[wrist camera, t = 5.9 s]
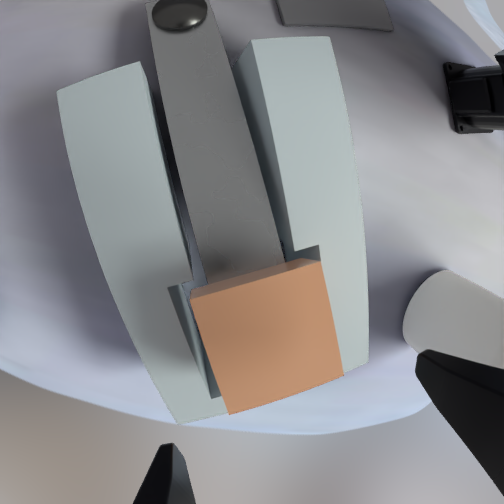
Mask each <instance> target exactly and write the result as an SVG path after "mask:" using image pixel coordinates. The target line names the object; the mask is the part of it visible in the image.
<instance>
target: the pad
mask: <svg viewBox="0 0 504 504" xmlns="http://www.w3.org/2000/svg"><path fill="white" fill-rule="evenodd" d="M276 2H277V6H278V9H279V13H280V16H281V20H282V23H283V26H336V27H353V28H365V29H375V30H384V31H393V30H394V28H393V25H392V22H391V19H390V16H389V13H388V10H387V7H386V4H385V2H384V0H276Z"/></svg>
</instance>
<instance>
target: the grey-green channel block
mask: <svg viewBox="0 0 504 504" xmlns="http://www.w3.org/2000/svg"><path fill="white" fill-rule="evenodd" d="M231 71H232V74H233V77H234V80H235V84H236V87H237V90H238V94H239V97H240V100H241V104H242V107H243V111H244V114H245V117H246V121H247V124H248V128H249V131H250V135H251V138H252V142H253V145H254V149H255V152H256V156H257V159H258V163H259V166H260V170H261V174H262V177H263V181H264V184H265V188H266V192H267V195H268V199H269V203H270V207H271V210H272V214H273V218H274V222H275V225H276V229H277V233H278V237H279V239H280V240H282V241H283V244H284V249H285V255H286V260H287V262H289V261H292V260H295V259H299V258H304V259H310V260H316V261H321V265H322V269H323V274H324V278H325V283H326V287H327V292H328V296H329V301H330V305H331V310H332V315H333V320H334V325H335V330H336V335H337V340H338V345H339V350H340V356H341V361H342V367H343V373H346V372H348V371H350V370H353V369H355V368H357V367H359V366H362V365H364V364H366V363H368V355H369V310H368V280H367V261H366V247H365V234H364V223H363V213H362V204H361V195H360V187H359V180H358V172H357V165H356V159H355V152H354V146H353V140H352V134H351V129H350V123H349V118H348V113H347V108H346V103H345V98H344V94H343V89H342V85H341V80H340V76H339V72H338V68H337V64H336V60H335V56H334V52H333V48H332V44H331V41H330V37H329V36H307V37H281V38H266V39H255V40H251V41H250V42H249V44H248V45H247V47H246V48H245V50H244V51H243V53H242V54H241V56H240V57H239V59H238V60H237V62H236V63H235V65H234V66H233V68H232V70H231ZM56 92H57V99H58V106H59V112H60V118H61V123H62V129H63V134H64V139H65V144H66V149H67V153H68V158H69V162H70V166H71V170H72V174H73V178H74V182H75V186H76V190H77V193H78V197H79V201H80V204H81V207H82V211H83V214H84V217H85V221H86V224H87V227H88V230H89V233H90V236H91V239H92V242H93V245H94V248H95V251H96V254H97V257H98V259H99V262H100V265H101V268H102V270H103V273H104V276H105V278H106V281H107V283H108V286H109V288H110V291H111V293H112V296H113V298H114V301H115V303H116V305H117V308H118V310H119V312H120V315H121V317H122V319H123V322H124V324H125V326H126V328H127V330H128V333H129V335H130V337H131V339H132V341H133V343H134V345H135V347H136V349H137V351H138V354H139V356H140V358H141V360H142V362H143V364H144V365H145V367H146V369H147V371H148V373H149V375H150V377H151V379H152V381H153V383H154V385H155V386H156V388H157V390H158V392H159V394H160V395H161V397H162V399H163V401H164V402H165V404H166V406H167V408H168V409H169V411H170V413H171V414H172V416H173V418H174V420H175V421H176V423H177V424H178V425H180V424H184V423H189V422H193V421H198V420H202V419H206V418H210V417H214V416H218V415H222V414H226V413H228V411H227V408H226V406H225V403H224V400H223V398H222V395H221V392H220V389H219V387H218V384H217V381H216V378H215V376H214V373H213V370H212V367H211V364H210V361H209V358H208V356H207V353H206V350H205V347H204V344H203V341H202V340H201V339H200V336H199V334H198V331H197V328H196V325H195V322H194V320H193V317H192V314H191V311H190V308H189V305H188V302H187V299H186V296H185V293H184V290H183V287H182V284H181V283H185V282H189V281H192V280H194V279H193V272H192V264H191V256H190V248H189V241H188V238H187V234H186V231H185V227H184V223H183V220H182V216H181V212H180V209H179V205H178V201H177V197H176V193H175V189H174V185H173V181H172V177H171V173H170V169H169V165H168V161H167V157H166V153H165V148H164V144H163V140H162V135H161V131H160V126H159V122H158V117H157V113H156V108H155V103H154V98H153V94H152V90H151V87H150V85H149V83H148V80H147V78H146V75H145V73H144V70H143V68H142V65H141V63H140V61H139V62H135V63H132V64H128V65H125V66H122V67H119V68H116V69H113V70H110V71H107V72H104V73H101V74H98V75H95V76H92V77H90V78H87V79H85V80H82V81H79V82H77V83H74V84H72V85H69V86H67V87H65V88H62V89H60V90H58V91H56Z"/></svg>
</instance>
